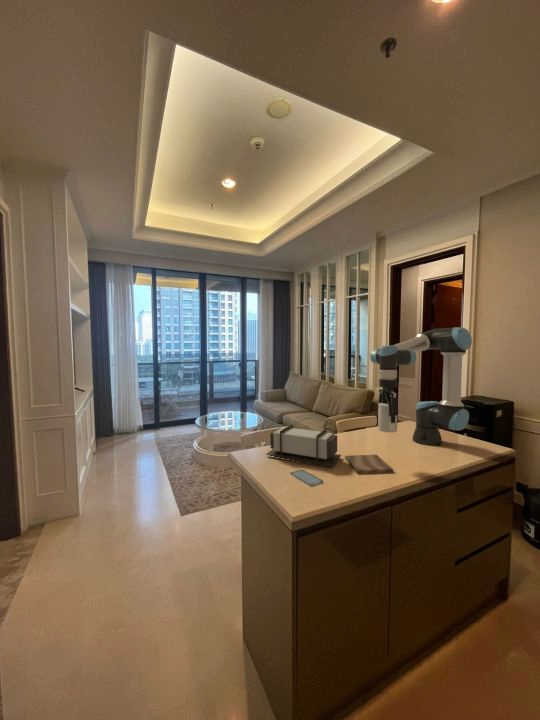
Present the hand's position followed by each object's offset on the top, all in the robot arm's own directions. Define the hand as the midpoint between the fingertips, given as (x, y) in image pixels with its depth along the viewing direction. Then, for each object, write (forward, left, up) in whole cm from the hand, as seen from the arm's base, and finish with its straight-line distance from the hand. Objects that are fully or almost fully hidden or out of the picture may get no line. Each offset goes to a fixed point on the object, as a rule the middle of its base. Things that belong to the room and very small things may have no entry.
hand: (387, 427), depth 142 cm
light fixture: (+38, -12, -18) cm, 44 cm away
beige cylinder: (0, 0, -1) cm, 1 cm away
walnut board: (+9, 0, -18) cm, 20 cm away
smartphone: (+40, +11, -18) cm, 46 cm away
